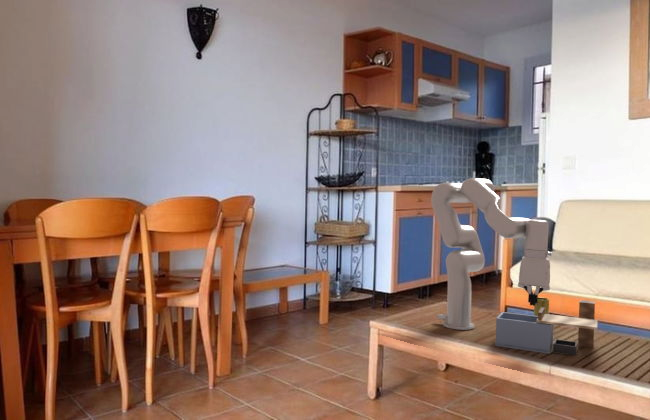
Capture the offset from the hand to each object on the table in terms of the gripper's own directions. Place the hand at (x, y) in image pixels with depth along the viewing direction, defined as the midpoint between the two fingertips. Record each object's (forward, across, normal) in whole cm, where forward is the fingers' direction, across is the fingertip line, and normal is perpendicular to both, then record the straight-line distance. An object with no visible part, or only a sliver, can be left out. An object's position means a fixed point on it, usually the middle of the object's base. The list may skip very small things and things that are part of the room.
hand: (532, 304), depth 187 cm
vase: (+15, -2, -20) cm, 25 cm away
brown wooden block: (+15, -18, -12) cm, 26 cm away
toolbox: (+15, +2, 0) cm, 15 cm away
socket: (+15, -12, 0) cm, 19 cm away
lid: (+4, -12, 0) cm, 12 cm away
